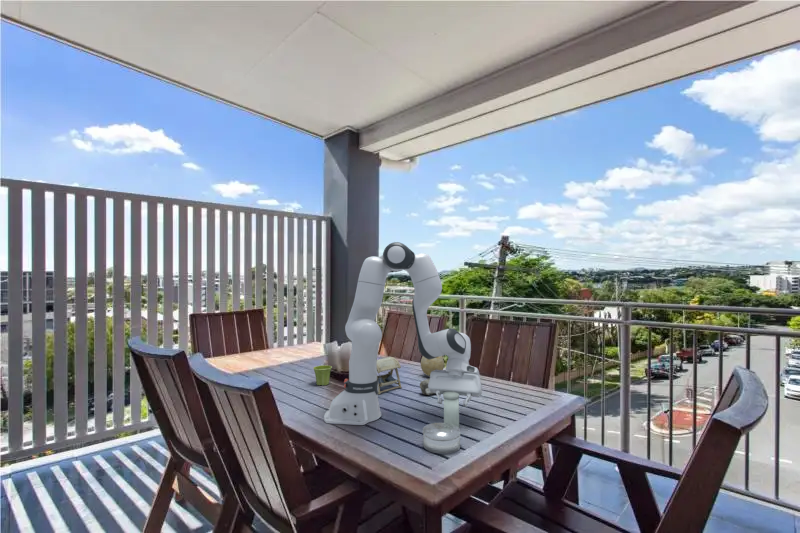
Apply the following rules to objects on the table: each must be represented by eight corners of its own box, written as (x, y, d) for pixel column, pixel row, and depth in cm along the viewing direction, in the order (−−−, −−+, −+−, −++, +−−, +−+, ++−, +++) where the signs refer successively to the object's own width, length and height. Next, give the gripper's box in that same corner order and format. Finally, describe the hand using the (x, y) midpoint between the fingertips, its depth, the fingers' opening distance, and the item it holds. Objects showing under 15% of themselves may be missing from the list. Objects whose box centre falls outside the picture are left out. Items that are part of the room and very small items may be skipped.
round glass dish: (424, 455, 116) (424, 439, 116) (421, 437, 128) (421, 423, 129) (464, 454, 116) (464, 437, 117) (457, 436, 129) (456, 422, 129)
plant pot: (311, 383, 195) (311, 366, 195) (329, 380, 199) (329, 364, 199) (315, 387, 186) (315, 370, 187) (334, 385, 190) (333, 368, 191)
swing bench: (379, 395, 174) (379, 363, 174) (366, 390, 181) (366, 360, 181) (402, 388, 184) (401, 358, 184) (389, 384, 191) (388, 355, 191)
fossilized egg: (432, 372, 213) (432, 345, 214) (449, 376, 204) (448, 349, 204) (416, 376, 205) (415, 348, 206) (432, 381, 196) (431, 352, 196)
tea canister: (445, 430, 134) (444, 396, 134) (442, 424, 139) (442, 391, 140) (460, 430, 134) (460, 396, 134) (457, 423, 139) (457, 391, 140)
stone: (435, 406, 170) (425, 387, 168) (424, 405, 175) (414, 386, 174) (452, 386, 179) (443, 368, 178) (441, 385, 185) (432, 368, 183)
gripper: (429, 365, 149) (423, 397, 139) (481, 368, 142) (478, 403, 132) (432, 373, 153) (426, 405, 143) (483, 377, 146) (480, 411, 136)
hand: (452, 404), depth 138 cm, fingers open, 8 cm apart
